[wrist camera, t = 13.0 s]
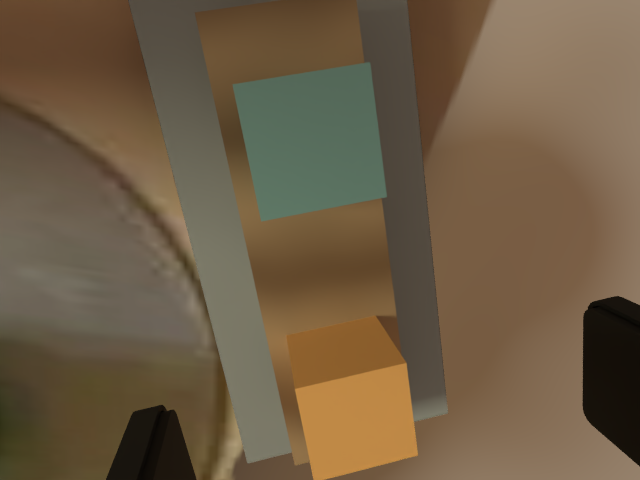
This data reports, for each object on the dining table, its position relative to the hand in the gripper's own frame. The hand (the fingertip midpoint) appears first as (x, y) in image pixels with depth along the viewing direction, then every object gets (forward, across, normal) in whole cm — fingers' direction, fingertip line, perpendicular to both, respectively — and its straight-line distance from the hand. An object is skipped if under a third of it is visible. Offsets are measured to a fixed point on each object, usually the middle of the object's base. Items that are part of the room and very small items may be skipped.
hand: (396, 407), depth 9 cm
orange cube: (+11, 0, +6) cm, 13 cm away
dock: (+19, 0, 0) cm, 19 cm away
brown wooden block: (+15, 0, 0) cm, 15 cm away
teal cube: (+11, 0, -5) cm, 13 cm away
